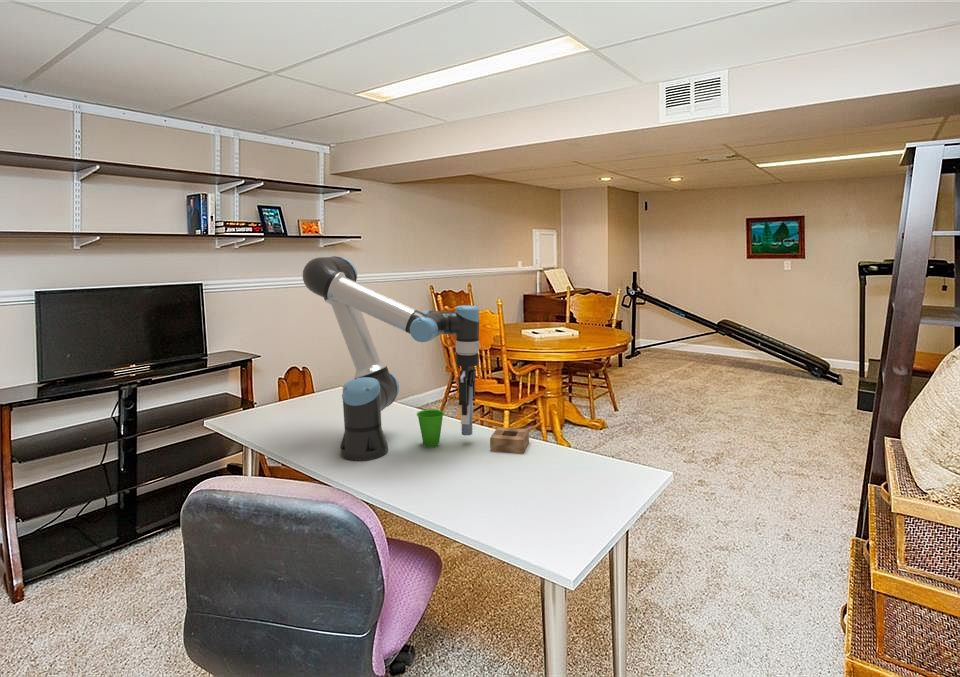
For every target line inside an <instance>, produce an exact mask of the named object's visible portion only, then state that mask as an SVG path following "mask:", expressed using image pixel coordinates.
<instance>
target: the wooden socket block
mask: <svg viewBox="0 0 960 677" xmlns="http://www.w3.org/2000/svg"><path fill="white" fill-rule="evenodd" d="M489 442H490V444H489V445H490V446H489V449H490V450H489V451H490V452H494V453H495V452H497V453H507V454H510V453H511V454H522V455H523V454H524V453H525V451H526V450H527V447H528V445H529V443H530V429H527V428H517V427H516V428H515V427H502V426H498V427H496V429H495V430H494V432H493V433H492V434H491V436H490V437H489Z"/></svg>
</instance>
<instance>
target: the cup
mask: <svg viewBox="0 0 960 677" xmlns="http://www.w3.org/2000/svg"><path fill="white" fill-rule="evenodd" d="M444 415H445V413H444V411H443V410H440V409H435V408H434V409H423V410H420V411H418V412H417V413H416V416H417V418H418V423H419V429H420V433H421V439H422V443H423V446H424V447H425V448H436V447H438V446H439V445H438V444H440V441H441V440H440V439H441V434H442V433H441V432H442V425H443V417H444Z"/></svg>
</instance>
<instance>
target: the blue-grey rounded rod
mask: <svg viewBox="0 0 960 677" xmlns="http://www.w3.org/2000/svg"><path fill="white" fill-rule="evenodd" d="M473 398H474V397H473V387H472V386H470V387H469V405H470V418H469V425H468V424H461V435H463V436H472V435H473V420H472V409H473V410H474V401H473Z"/></svg>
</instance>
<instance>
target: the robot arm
mask: <svg viewBox="0 0 960 677" xmlns="http://www.w3.org/2000/svg"><path fill="white" fill-rule="evenodd" d="M303 267H304V268H303V269H302V281H303V283H304V285H305V287H306V288H307V289H308V290H309V291H310V292H312V293H313V294H314V295H317V296H320V297H321V298H323V299H324V301H325V302H324V303H326V304H327V303H328V304H329V305H331V308H332V311H333V313H334V315H335V318H336V320H337V323H338V326H339V329H340V330H341V333H342V336H343V339H344V341H345V344H346V347H347V350H348V353H349V355H350V357H351V360H352V362H353V365H354V369H355V373H354V377H353V379H350V380H348V381H347V382H345V384H344V385H343V387H342V394H341V398H342V408H343V410H342V411H343V424H344V426H343V427H344V432H343V435H342V439H341V443H340V447H339V454H340V457H342V458H343V459H344V460H349V461H369V460H374V459H378V458H381V457H384V456H385V455H386V454H387V453H388V451H389V443H388V441H387V439H386V435H385V434H384V430H383V428H382V411H383V410H385V409H386V408H387V407H389V406H391V405H392V404H393V403H394V402H395V400H396V399H397V397H398V395H399V392H400V385H399V381H398V379H397V377H396V376H395V375H394V374H392V373H391V372H390V371H389V368H388V365H387V364H385V363H383V362H381V360H380V357H379V354H378V352H377V349H376V346H375V343H374V341H373V339H372V336H371V334H370V331H369V328H368V325H367V322H366V320H365V317H364V315H363V313H364V314H366V315H369V316H371V317H373V318H375V319H377V320H380V321H381V322H383V323H386V324H388V325H390V326H392V327H394V328H397V329H399V330H401V331H403V332H405V333H408V334H410V336H411V338H412V339H413V340H414V341H417V342H419V343H426V342H430V341H432V340H434V339H435V338H437V337H438V336H440V335H455V352H456V354H455V365H457V366H458V367H461V370H460V371H459V376H458V377H457V381H458V403H457V405H458V406H460V425H462V424H468V425H469V418H470V405H469V387H470V386H472V387H473V402H476V398H475V397H476V372H477V369H476V368H474V367H477V366H478V365H479V362H480V361H479V360H480V354H479V351H480V348H479V347H481V343H480V322H481V321H480V320H481V319H480V310H479V307H477V305H469V304H468V305H467V304H466V305H461V304H460V305H457V306H456V307H455V311H445V310H444V311H441V310H433V309H432V310H423V311H419V310H417V309H416V308H413V307H411V306H409V305H406V304H405V303H402V302H400V301H398V300H396V299H394V298H391V297H389V296H387V295H384V294H383V293H381V292H378V291H377V290H374V289H371V288H370V287H368V286H365V285H363V284H361V283H358V282H357V279H358V272H357V268H356V267H355V265H354V264H353V262H352V261H350V260H349V259H347V258H345V257H341V256H336V255H333V256H327V257H326V256H325V257H324V256H323V257H316V258H312V259H311V260H309V261H308V262H307V263H305V265H304V266H303ZM473 419H474V408H473V409H472V421H473Z"/></svg>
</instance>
